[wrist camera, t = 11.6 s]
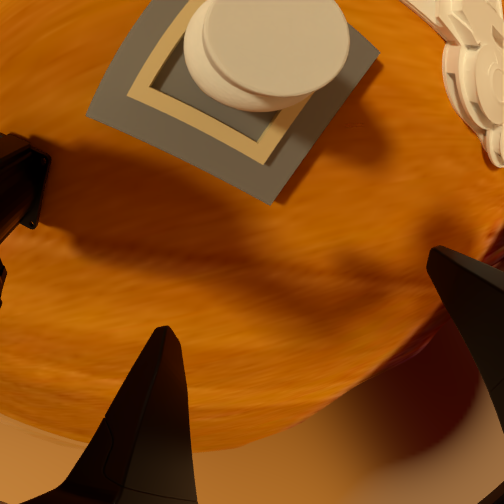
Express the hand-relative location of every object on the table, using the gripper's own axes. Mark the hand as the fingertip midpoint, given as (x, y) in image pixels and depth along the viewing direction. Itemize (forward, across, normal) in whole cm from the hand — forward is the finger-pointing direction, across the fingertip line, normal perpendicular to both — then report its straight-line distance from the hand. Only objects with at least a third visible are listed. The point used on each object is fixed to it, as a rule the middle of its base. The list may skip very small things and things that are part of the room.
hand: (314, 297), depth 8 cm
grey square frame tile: (+13, -1, -8) cm, 15 cm away
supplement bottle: (+12, -1, -8) cm, 14 cm away
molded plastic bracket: (+14, -24, -12) cm, 30 cm away
